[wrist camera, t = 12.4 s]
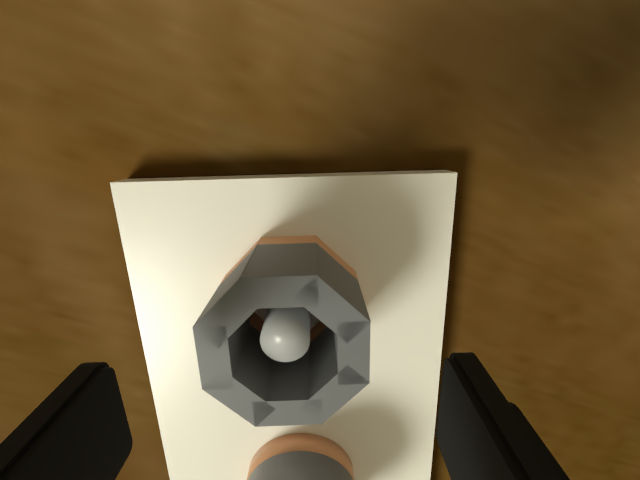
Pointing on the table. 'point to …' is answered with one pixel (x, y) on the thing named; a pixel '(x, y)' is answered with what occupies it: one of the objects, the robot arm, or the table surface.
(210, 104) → the table surface
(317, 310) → the sleeve
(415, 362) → the pin board
